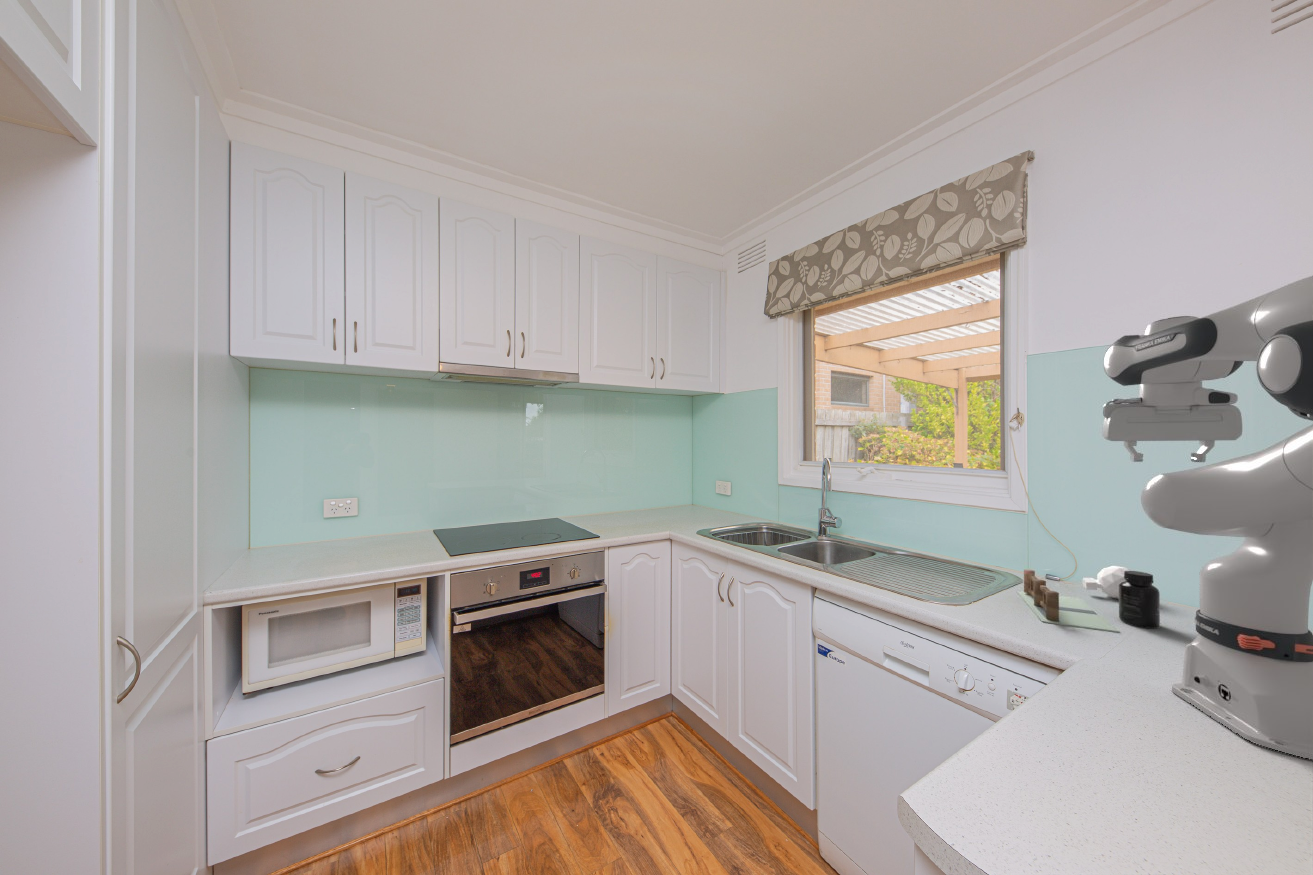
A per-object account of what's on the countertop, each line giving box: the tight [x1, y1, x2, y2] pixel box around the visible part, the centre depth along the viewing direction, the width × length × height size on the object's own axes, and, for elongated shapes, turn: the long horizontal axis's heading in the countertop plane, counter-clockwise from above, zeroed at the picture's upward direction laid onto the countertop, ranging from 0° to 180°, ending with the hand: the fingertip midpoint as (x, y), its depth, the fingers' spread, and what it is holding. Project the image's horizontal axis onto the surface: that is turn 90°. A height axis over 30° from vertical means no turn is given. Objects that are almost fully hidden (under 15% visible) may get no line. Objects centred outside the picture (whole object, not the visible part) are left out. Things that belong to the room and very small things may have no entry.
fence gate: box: [1023, 569, 1038, 598], centre depth 127 cm, size 9×2×6 cm, turn 154°
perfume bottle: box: [1082, 565, 1132, 600], centre depth 128 cm, size 9×9×12 cm
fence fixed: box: [1034, 578, 1060, 622], centre depth 117 cm, size 12×2×7 cm, turn 154°
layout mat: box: [1016, 590, 1121, 633], centre depth 119 cm, size 24×14×1 cm, turn 154°
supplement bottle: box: [1118, 570, 1161, 629], centre depth 111 cm, size 7×7×12 cm
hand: (1166, 461), depth 99 cm, fingers open, 8 cm apart
